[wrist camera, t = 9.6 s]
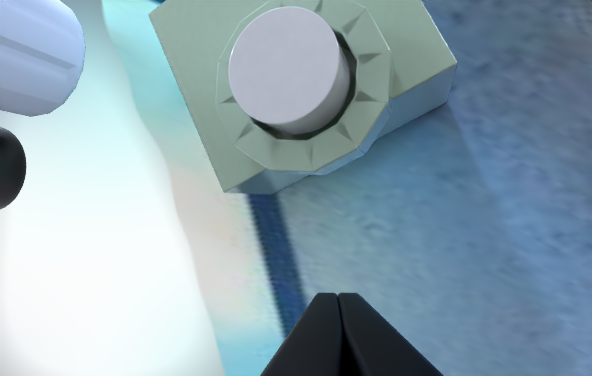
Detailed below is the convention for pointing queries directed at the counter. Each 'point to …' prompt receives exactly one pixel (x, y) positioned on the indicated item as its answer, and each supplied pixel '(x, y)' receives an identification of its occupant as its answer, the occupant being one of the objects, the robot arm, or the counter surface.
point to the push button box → (353, 115)
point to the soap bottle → (38, 55)
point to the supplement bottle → (10, 167)
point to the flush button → (289, 71)
